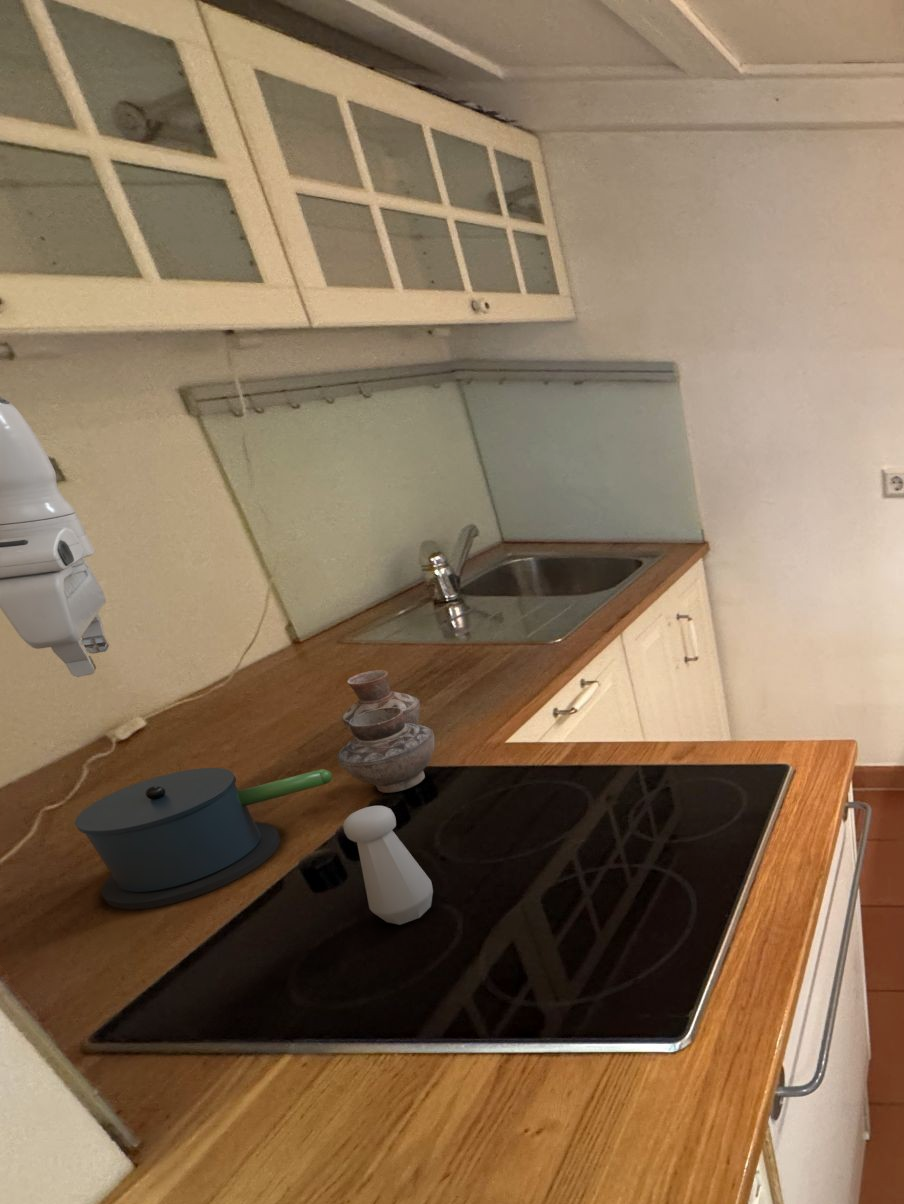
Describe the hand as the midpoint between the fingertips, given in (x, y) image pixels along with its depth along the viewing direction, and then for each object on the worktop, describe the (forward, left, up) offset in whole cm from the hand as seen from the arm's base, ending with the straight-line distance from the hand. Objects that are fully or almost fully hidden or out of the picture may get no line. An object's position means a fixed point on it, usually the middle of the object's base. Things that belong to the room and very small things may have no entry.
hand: (93, 662), depth 90 cm
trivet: (+1, -11, -24) cm, 26 cm away
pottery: (+23, +2, -24) cm, 34 cm away
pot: (+6, -11, -23) cm, 26 cm away
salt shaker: (+20, -39, -24) cm, 50 cm away
